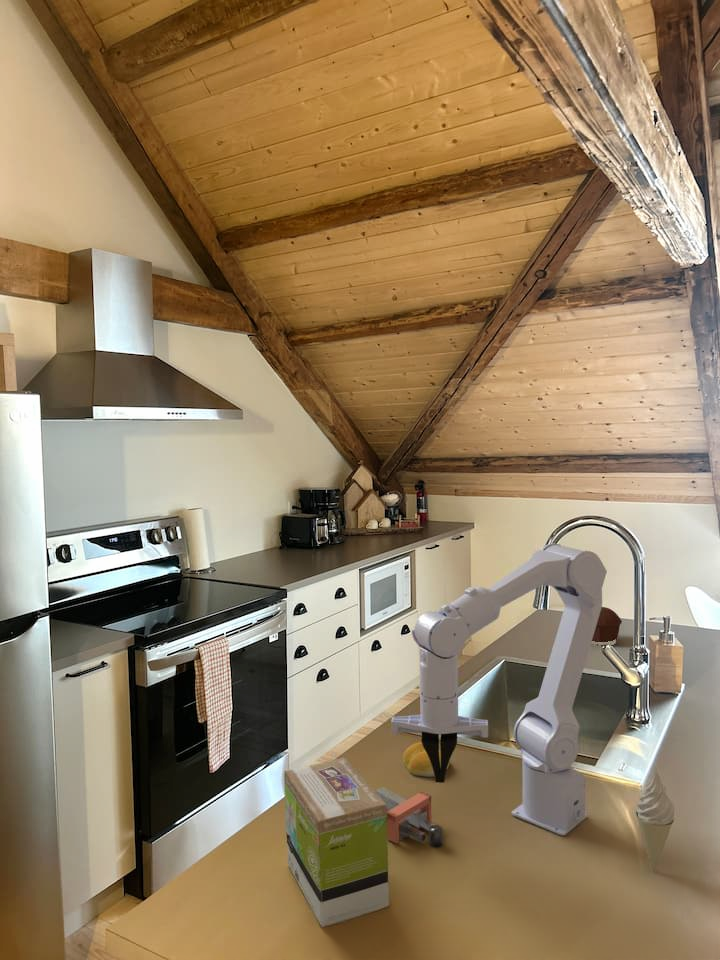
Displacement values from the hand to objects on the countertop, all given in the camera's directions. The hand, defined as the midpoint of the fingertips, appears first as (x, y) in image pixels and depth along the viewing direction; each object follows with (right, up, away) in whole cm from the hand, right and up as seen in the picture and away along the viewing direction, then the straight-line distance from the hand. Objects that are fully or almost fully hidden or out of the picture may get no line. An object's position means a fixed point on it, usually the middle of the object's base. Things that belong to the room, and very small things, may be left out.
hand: (440, 779), depth 110 cm
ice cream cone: (+30, -10, -8) cm, 32 cm away
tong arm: (-5, -9, +7) cm, 13 cm away
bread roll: (0, -9, +26) cm, 27 cm away
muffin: (+58, -2, +101) cm, 116 cm away
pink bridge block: (-4, -10, +4) cm, 11 cm away
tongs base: (-6, -10, +4) cm, 12 cm away
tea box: (-16, -11, -10) cm, 22 cm away
